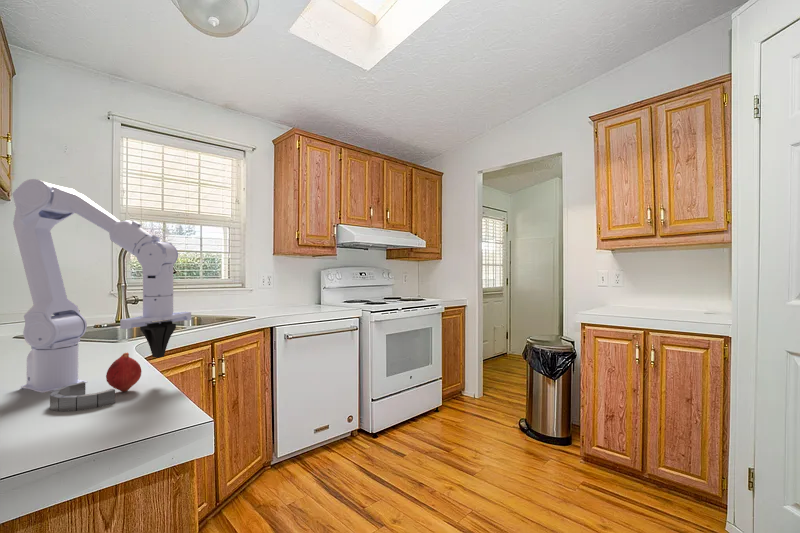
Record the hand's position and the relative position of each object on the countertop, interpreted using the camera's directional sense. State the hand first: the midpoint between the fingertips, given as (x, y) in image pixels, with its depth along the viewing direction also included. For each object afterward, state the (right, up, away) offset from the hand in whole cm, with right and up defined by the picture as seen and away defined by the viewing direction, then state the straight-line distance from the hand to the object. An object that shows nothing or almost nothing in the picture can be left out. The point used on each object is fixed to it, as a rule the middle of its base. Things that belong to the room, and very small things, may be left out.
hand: (158, 356), depth 84 cm
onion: (-3, -6, -6) cm, 9 cm away
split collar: (-6, -6, -14) cm, 16 cm away
